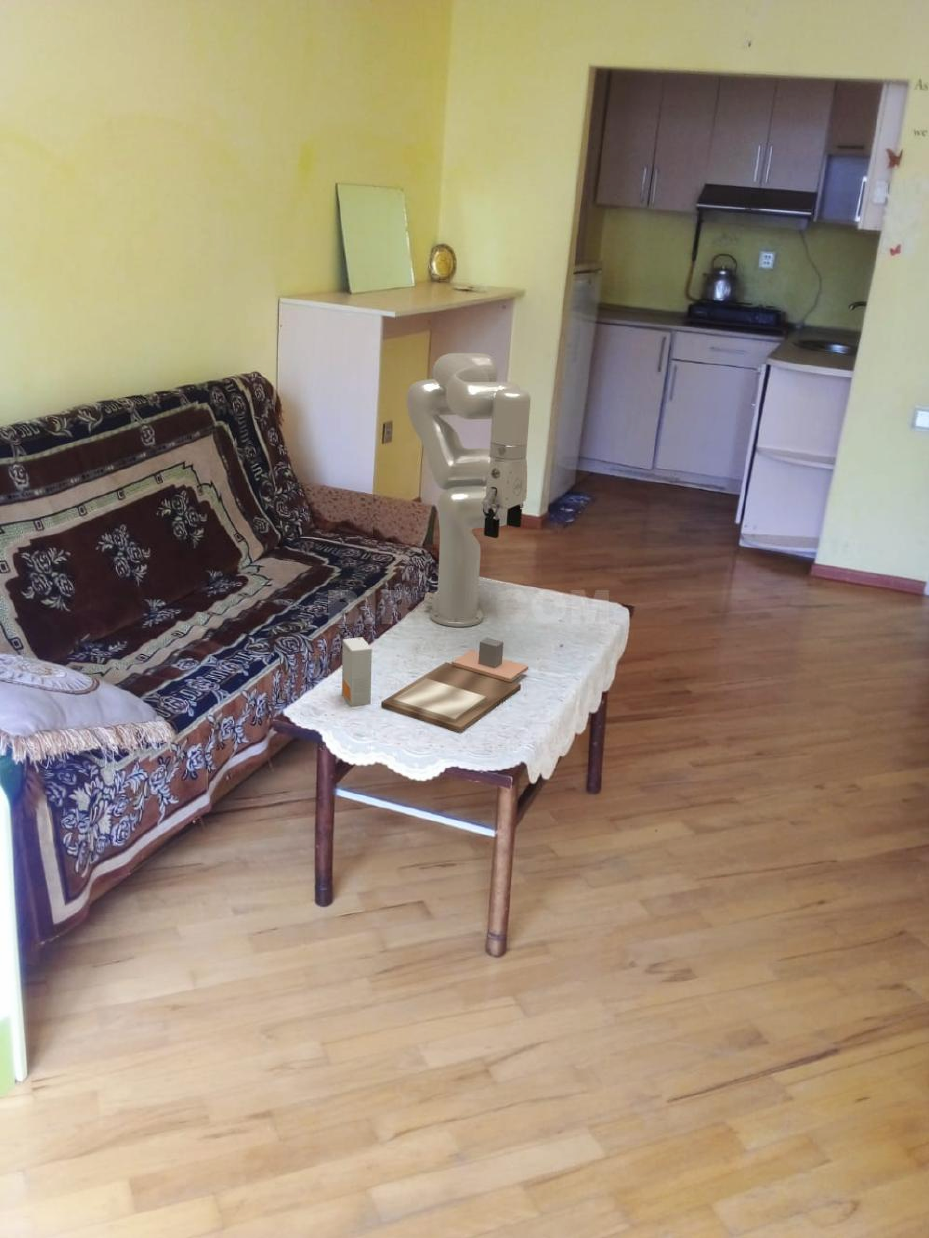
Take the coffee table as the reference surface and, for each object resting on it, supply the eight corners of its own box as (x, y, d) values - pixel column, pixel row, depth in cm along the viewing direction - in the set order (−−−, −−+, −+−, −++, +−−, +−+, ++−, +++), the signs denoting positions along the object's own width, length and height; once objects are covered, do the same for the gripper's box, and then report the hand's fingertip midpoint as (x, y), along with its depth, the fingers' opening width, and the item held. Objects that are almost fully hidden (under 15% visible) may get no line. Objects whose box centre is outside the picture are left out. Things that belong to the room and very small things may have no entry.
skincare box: (341, 694, 219) (341, 638, 215) (361, 691, 221) (362, 636, 216) (350, 707, 214) (351, 650, 210) (371, 704, 216) (372, 648, 211)
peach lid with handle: (451, 665, 232) (453, 639, 230) (470, 653, 238) (472, 628, 236) (510, 682, 225) (512, 656, 223) (528, 669, 232) (530, 644, 230)
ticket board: (381, 707, 215) (381, 698, 214) (445, 667, 234) (446, 658, 233) (460, 733, 206) (461, 723, 206) (520, 689, 226) (521, 680, 225)
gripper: (503, 461, 216) (498, 544, 222) (543, 446, 230) (537, 525, 236) (470, 455, 220) (466, 537, 226) (512, 441, 234) (506, 519, 240)
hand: (502, 531), depth 231 cm, fingers open, 9 cm apart
